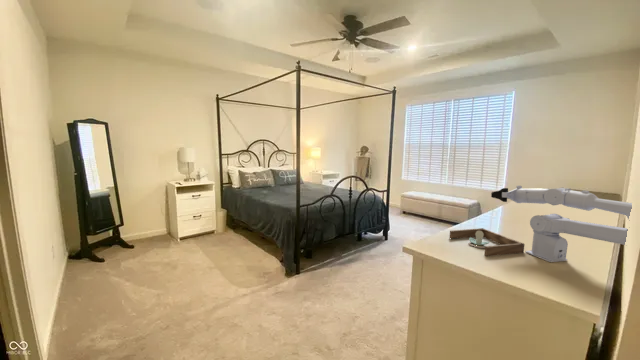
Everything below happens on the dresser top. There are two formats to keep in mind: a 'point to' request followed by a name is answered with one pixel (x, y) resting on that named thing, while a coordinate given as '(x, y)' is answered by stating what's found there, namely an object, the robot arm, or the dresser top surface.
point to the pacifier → (478, 240)
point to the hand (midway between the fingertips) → (498, 195)
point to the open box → (506, 243)
